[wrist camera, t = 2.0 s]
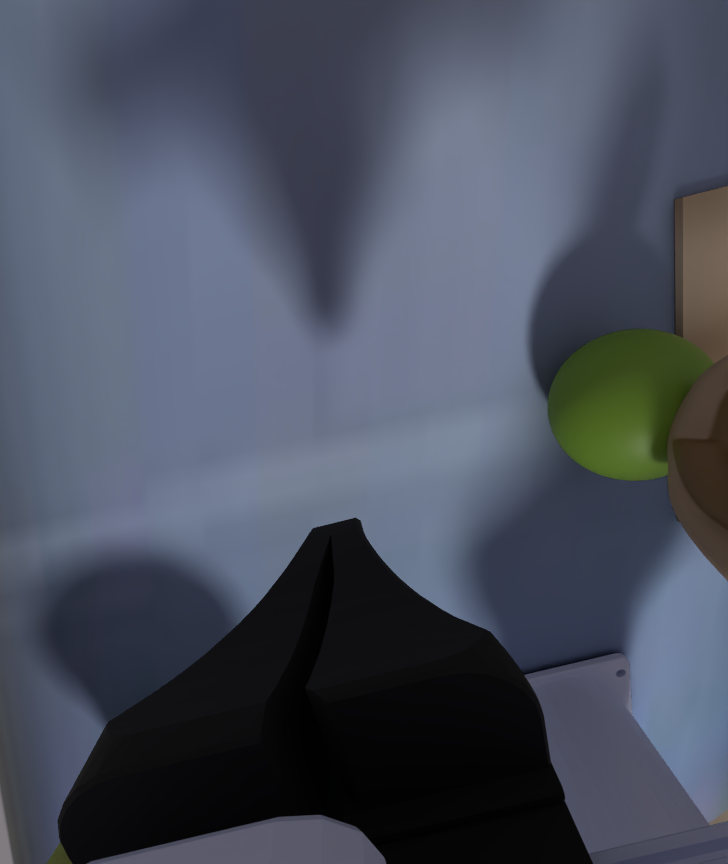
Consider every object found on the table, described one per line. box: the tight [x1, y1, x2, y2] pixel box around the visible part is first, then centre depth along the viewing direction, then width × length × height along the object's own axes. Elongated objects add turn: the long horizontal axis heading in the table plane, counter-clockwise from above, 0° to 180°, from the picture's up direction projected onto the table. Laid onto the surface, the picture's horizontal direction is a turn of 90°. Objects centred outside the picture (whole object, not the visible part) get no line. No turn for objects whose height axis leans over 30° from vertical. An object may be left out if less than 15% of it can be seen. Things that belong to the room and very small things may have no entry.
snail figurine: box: [548, 329, 728, 581], centre depth 12 cm, size 5×6×12 cm
